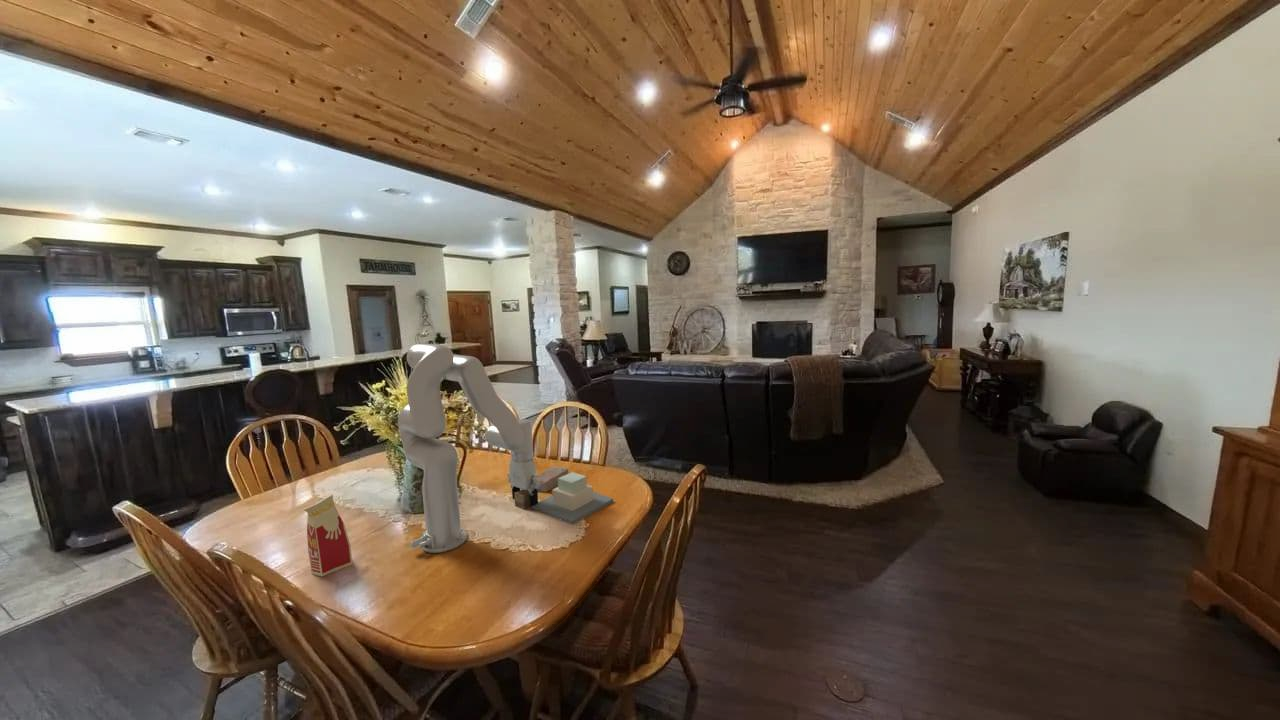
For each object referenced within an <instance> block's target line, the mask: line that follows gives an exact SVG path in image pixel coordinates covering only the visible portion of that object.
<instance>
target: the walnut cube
mask: <svg viewBox="0 0 1280 720" xmlns="http://www.w3.org/2000/svg"><path fill="white" fill-rule="evenodd" d="M529 495H530V493H529V491H528V490H523V489H520V491H518V492H515V493H514V497H515V499H514V507H516V508H519V509H522V510H523V511H524V510H525V511H526V510H527V509H528V508H531V507H532V506H530V500H529Z"/></svg>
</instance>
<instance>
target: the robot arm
mask: <svg viewBox="0 0 1280 720" xmlns="http://www.w3.org/2000/svg"><path fill="white" fill-rule="evenodd" d="M406 362H407V364H408V365H409V367H410V368H411V369H412V370H411V373H410V375H409V377H408V378H407V379H408V380H407V382H406V396H407V402H408V404H406V405H405V406H404V407H403V408H402V409H401V410H400V412H399V414H398V418H397V428H398V431H399V434H400V439H401V444H402V447H403V452H404V455H405V457H406V460H407V461H408V462H409V464H411V465H413V466H414V467H417V468H419V469H421V470H423V478H422V483H421V484H422V485H421V493H422V501H423V512H424V514H423V515H424V522H425V523H424V524H425V530H424V531H422V535H421V536H420V537H419V538H417V539H414V540H411V541H410V542H409V544H408V545H409V547H410V549H414V548H417V547H418V548H419V549H422V550H423V551H425V552H427V553H432V554H438V553H443V552H444V553H445V552H448V551H451V550H454V549H457V548H458V547H460V546H461V545H463V544H464V543H465V542H466V540H467V538H468V536H467V531H466V530H464V529H463V528H462V526H461V517H460V516H461V514H460V505H459V491H458V490H459V489H458V479H457V472H458V465H459V464H458V463H459V456H458V451H457V449H456V448H455V447H454V445H452V443H450V442H448V441H446V440H445V441H444V440H442V439H439V438H438V437H441V436H442V435H443V434H444V433H445V430H446V428H447V420H446V416H445V411H444V406H443V401H442V396H441V382H442V380H443V379H444V380H448V381H451V382H452V381H453V382H458V383H459V385H460V387H461V389H462V391H463V392H464V395H465V396H466V398H467V401H468V403H469V405H470V407H471V408H472V409H473V410H474V411H475V412H476V413H478V414H479V415H481V416H482V417H484V418H485V419H486V420H488V421H489V422H490V424H492V425H489V426H488V428H486V429H485V432H484V438H485V439H484V440H485V442H487V444H489V445H490V446H493V447H497V448H500V449H502V450H507V451H510V460H509V469H508V470H509V471H508V472H509V473H507V478H508V482H509V484H510V488H511V494H512V495H511V496H512V497H511V498H512V500H515V497H514V493H515V492H518V491H520V490H522V489H523V490H528V491H529V493H530V495H529V500H530V506H531V507H532V506H534V505H536V504H538V502H539V497H538V496H539V495H538V494H539V492H541V491H540V487H541V483H540V482H539V481H538V480H537V475H538V474H537V467H536V464H535V459H534V449H533V448H534V447H533V446H534V445H533V431H532V430H533V429H532V422H531V421H530V420H529V419H526V418H525V419H524V418H520V419H518V418H517V416H516V415H515V414H514V412H513V411H512V410H511V408H510V407H509V406H507V404H506V403H505V402H504V401H503V400H502V398H500V397H499V396H498V394H497V392H496V390H495V388H494V386H493V384H492V381H491V379H490V377H489V376H488V373H487V372H486V370H485V368H484V365H483V363H482V362H481V361H480V359H478V358H477V357H475V356H472V355H463V354H456V353H453V351H452V349H451V348H449V347H448V346H446V345H444V344H443V345H442V344H438V343H437V344H436V343H422V342H421V343H417V344H414V345H413V346H411V347H410V348H409V350H408V351H407V354H406ZM530 485H531V486H530ZM531 488H534V490H532V489H531Z"/></svg>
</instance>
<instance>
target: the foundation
mask: <svg viewBox="0 0 1280 720" xmlns="http://www.w3.org/2000/svg"><path fill="white" fill-rule="evenodd" d="M551 493H552V494H551V495H550V496H548V497H546V498H544V499H542V500H539V501H538V504H536V505H534V506H531V507H532V509H534V510H536V511H539V512H541V513H543V514H546V515H549V516H550V517H553V518H555V519H558V520H560V519H561V520H560V521H563V522H566V523H568V524H570V525H574V524H576V523H577V522H579V521H581V520H583V519H585V518H587V517H588V516H590V515H591V514H594V513H595V512H598V511H599V510H601V509H603V508H604V507H606V506H608V505H610V504H612V503H614V498H612V497H610V496H608V495H604V494H600V493H597V492H594V488H593V486H592V485H588V484H587V487H586V488H584V489H582V490H580V491H578V492H576V493H573V494H570V493H567V492H565V491H562V490H559V489H558V486H556V487H554V488H553V489H551Z"/></svg>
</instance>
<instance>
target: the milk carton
mask: <svg viewBox="0 0 1280 720" xmlns="http://www.w3.org/2000/svg"><path fill="white" fill-rule="evenodd" d="M334 501H335V500H334V494H333V493H332V494H330V495H328V496H327V497H326V496H325V498H323V499H321V500H320V501H319V502H316V503H314V504H312V505H310V506H308V507H306V508H303V509H302V511H305V512H306V513H307V522H306V523H307V525H306V528H307V529H306V535H307V550H308V551H307V552H308V558H309V563H310V564H309V565H310V571H311V574H312V575H315V576H318V577H324V576H327V575H328V574H331V573H334V572H336V571H338V570H341V569H343V568H346V567H349V566H351V565H353V557H352V556H353V555H352V548H351V546H352V545H351V543H350V538H349V536H348V532H347V528H346V525H345V523H344V521H343V519H342V517H341V515H340V512H339V511H338V509H337V507H336V504H335V502H334Z"/></svg>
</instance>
